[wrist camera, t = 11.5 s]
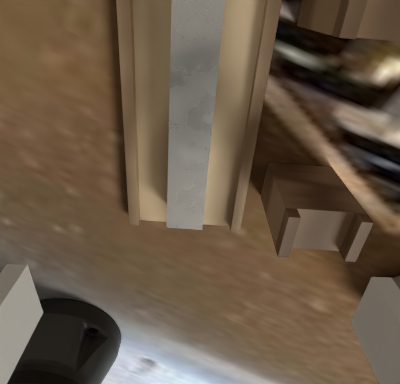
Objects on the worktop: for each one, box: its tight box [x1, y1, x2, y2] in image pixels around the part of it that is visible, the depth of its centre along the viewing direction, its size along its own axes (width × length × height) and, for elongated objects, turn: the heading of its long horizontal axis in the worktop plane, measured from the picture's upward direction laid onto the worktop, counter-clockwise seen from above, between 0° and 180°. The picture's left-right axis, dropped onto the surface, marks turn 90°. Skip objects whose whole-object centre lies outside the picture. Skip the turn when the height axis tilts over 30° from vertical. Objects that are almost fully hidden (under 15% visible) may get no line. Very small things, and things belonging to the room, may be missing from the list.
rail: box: [167, 0, 225, 230], centre depth 26 cm, size 4×24×4 cm, turn 176°
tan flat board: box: [116, 0, 282, 232], centre depth 27 cm, size 12×28×1 cm, turn 176°
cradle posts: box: [261, 0, 400, 262], centre depth 24 cm, size 6×20×9 cm, turn 176°
